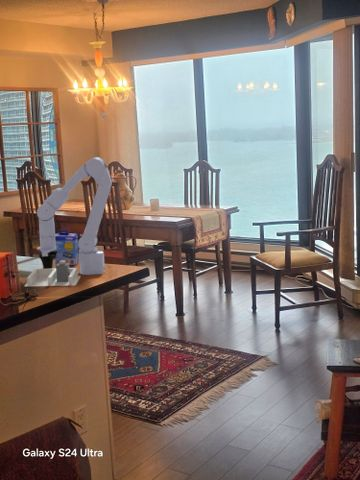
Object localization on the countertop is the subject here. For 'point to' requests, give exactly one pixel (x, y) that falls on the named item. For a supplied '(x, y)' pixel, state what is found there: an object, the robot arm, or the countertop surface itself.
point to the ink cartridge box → (67, 247)
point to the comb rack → (51, 278)
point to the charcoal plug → (62, 271)
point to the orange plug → (52, 264)
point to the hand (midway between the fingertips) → (49, 271)
